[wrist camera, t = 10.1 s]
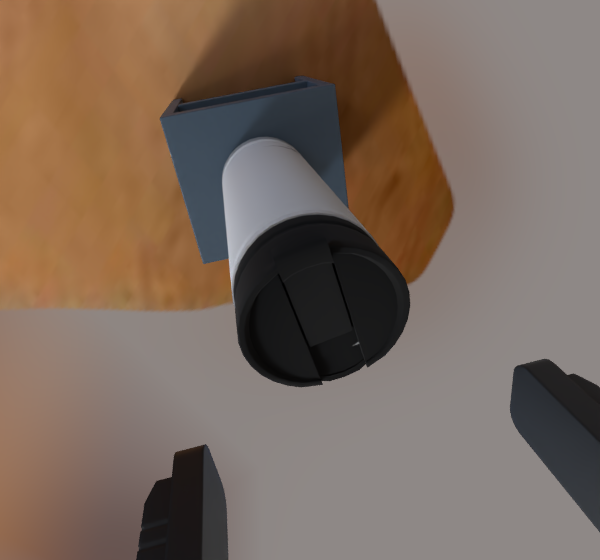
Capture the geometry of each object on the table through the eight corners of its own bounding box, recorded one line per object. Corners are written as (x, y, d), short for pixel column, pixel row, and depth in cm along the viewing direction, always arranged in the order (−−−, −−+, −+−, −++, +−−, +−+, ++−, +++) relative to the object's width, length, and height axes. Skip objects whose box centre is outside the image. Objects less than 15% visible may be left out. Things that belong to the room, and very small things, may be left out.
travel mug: (290, 117, 30) (397, 207, 13) (317, 203, 34) (433, 368, 16) (205, 149, 30) (199, 283, 13) (241, 232, 34) (274, 429, 16)
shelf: (172, 99, 39) (159, 117, 29) (302, 75, 40) (335, 83, 30) (204, 214, 45) (203, 264, 34) (318, 190, 46) (351, 231, 35)
